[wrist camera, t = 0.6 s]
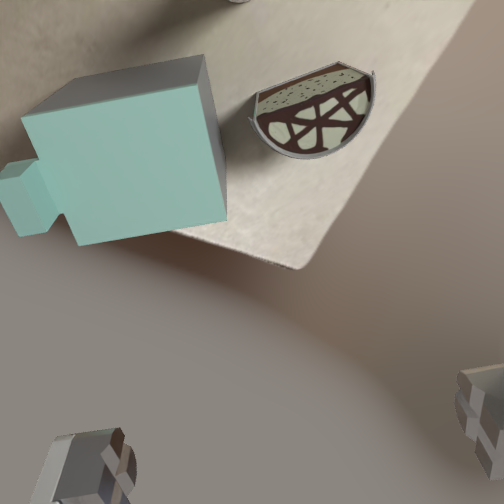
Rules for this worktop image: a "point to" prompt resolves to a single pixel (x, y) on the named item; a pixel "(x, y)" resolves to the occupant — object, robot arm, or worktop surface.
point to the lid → (116, 168)
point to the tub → (143, 82)
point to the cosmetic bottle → (239, 1)
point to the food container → (315, 111)
